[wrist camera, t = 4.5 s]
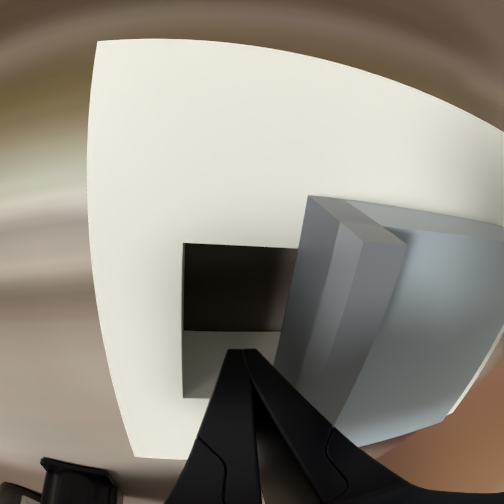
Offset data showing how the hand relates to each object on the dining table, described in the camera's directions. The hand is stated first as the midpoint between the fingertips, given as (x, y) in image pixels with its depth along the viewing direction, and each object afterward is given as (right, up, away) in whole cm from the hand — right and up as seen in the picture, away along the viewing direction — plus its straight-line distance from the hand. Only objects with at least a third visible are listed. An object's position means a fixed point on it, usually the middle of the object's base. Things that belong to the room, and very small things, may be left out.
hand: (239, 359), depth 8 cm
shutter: (+5, 0, +2) cm, 6 cm away
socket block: (+5, +2, +6) cm, 7 cm away
